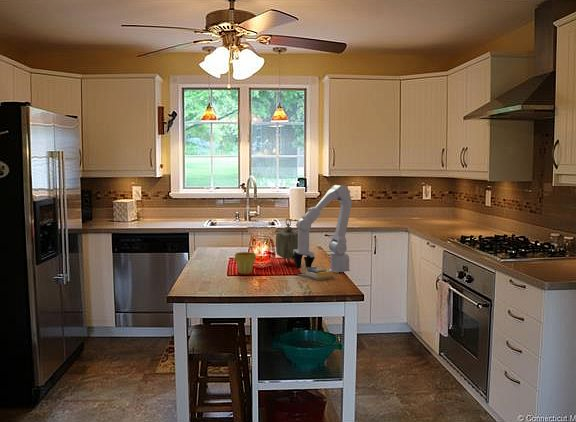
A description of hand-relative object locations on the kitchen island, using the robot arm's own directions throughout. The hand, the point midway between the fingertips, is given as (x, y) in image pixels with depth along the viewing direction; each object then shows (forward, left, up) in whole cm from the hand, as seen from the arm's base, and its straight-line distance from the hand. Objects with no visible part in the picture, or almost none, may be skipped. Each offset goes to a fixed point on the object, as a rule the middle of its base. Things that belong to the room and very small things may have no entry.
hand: (303, 269), depth 270 cm
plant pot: (+23, -19, -2) cm, 29 cm away
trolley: (0, +11, -1) cm, 11 cm away
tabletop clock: (-9, -26, -2) cm, 28 cm away
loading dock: (0, +9, -2) cm, 9 cm away
